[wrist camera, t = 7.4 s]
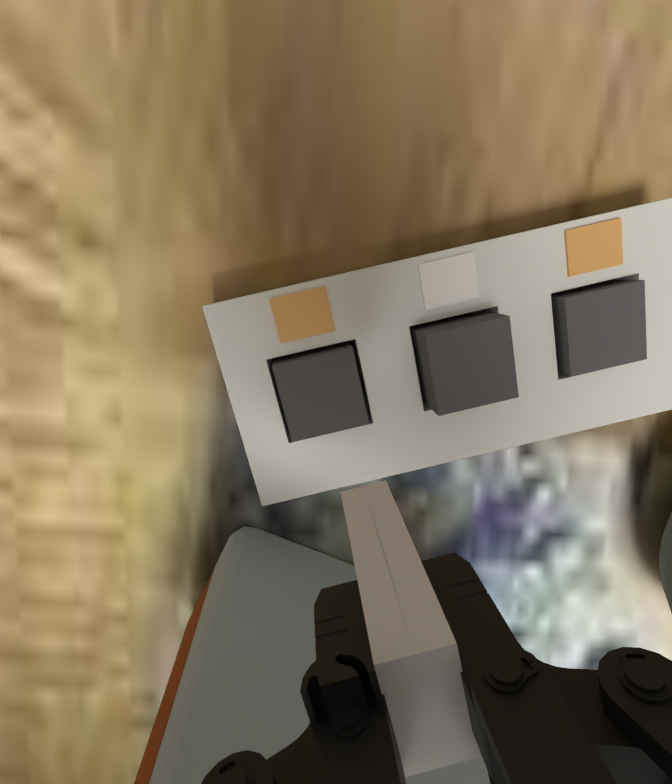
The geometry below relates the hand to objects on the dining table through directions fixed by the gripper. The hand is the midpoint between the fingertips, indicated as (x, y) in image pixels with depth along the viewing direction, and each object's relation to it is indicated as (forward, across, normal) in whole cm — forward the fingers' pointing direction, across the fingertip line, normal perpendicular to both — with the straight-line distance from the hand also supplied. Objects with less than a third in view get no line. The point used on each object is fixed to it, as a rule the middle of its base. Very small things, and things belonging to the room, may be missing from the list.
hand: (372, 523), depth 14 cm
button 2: (+14, -1, +2) cm, 14 cm away
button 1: (+13, +15, +2) cm, 20 cm away
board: (+14, +7, +2) cm, 16 cm away
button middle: (+12, +7, +2) cm, 14 cm away
